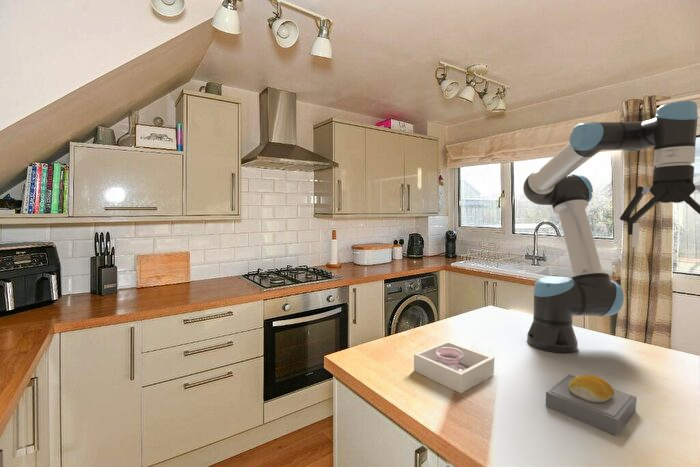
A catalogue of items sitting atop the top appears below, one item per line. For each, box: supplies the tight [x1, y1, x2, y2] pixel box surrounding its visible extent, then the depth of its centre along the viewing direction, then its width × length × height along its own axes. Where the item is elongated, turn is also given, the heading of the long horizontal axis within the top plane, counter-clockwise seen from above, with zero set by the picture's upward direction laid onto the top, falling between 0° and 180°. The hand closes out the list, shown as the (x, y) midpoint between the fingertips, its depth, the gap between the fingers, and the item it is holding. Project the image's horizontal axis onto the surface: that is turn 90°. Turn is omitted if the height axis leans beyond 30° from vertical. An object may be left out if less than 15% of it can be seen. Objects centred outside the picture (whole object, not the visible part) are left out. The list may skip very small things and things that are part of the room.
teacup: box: [435, 347, 467, 371], centre depth 99 cm, size 12×12×6 cm
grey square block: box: [545, 374, 637, 437], centre depth 81 cm, size 14×14×4 cm
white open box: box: [413, 340, 495, 394], centre depth 99 cm, size 16×16×5 cm
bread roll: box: [568, 374, 614, 403], centre depth 81 cm, size 8×9×4 cm
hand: (668, 249), depth 88 cm, fingers open, 13 cm apart
